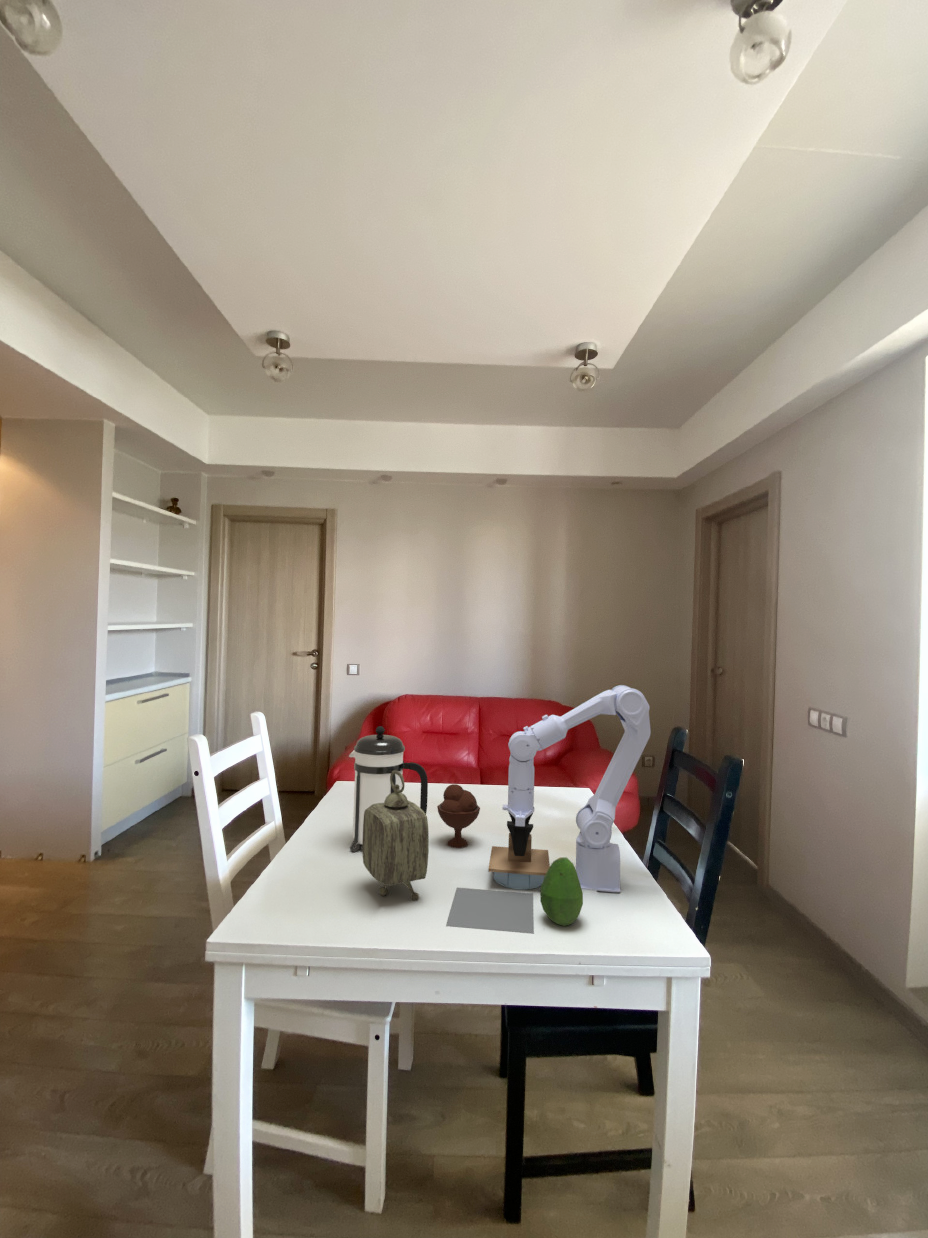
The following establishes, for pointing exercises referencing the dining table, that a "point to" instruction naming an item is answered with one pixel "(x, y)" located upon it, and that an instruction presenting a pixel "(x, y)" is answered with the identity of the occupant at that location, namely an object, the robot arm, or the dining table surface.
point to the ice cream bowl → (458, 812)
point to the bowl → (518, 880)
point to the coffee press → (379, 776)
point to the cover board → (519, 866)
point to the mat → (492, 910)
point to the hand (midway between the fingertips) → (519, 849)
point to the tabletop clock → (396, 840)
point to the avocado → (561, 892)
